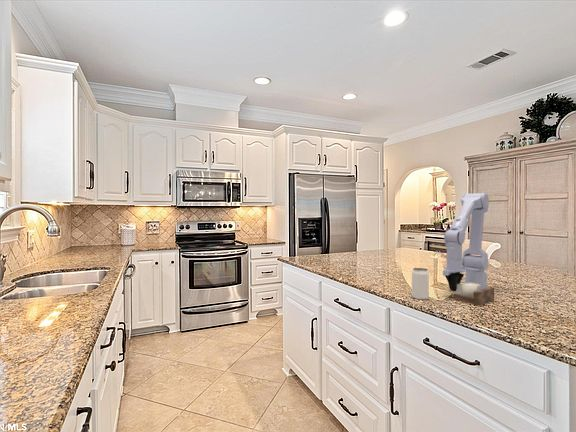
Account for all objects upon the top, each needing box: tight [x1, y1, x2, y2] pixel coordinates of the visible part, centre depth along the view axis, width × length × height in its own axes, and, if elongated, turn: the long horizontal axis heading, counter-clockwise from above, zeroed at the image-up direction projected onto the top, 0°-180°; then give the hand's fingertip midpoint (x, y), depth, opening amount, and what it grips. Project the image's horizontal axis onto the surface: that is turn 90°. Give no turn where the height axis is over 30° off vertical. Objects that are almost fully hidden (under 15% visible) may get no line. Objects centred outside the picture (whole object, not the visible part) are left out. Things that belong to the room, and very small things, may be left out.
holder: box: [454, 286, 495, 307], centre depth 133 cm, size 14×10×5 cm
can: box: [411, 267, 430, 301], centre depth 136 cm, size 6×6×12 cm
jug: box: [450, 281, 481, 298], centre depth 135 cm, size 11×6×6 cm, turn 36°
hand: (454, 290), depth 139 cm, fingers closed on jug
